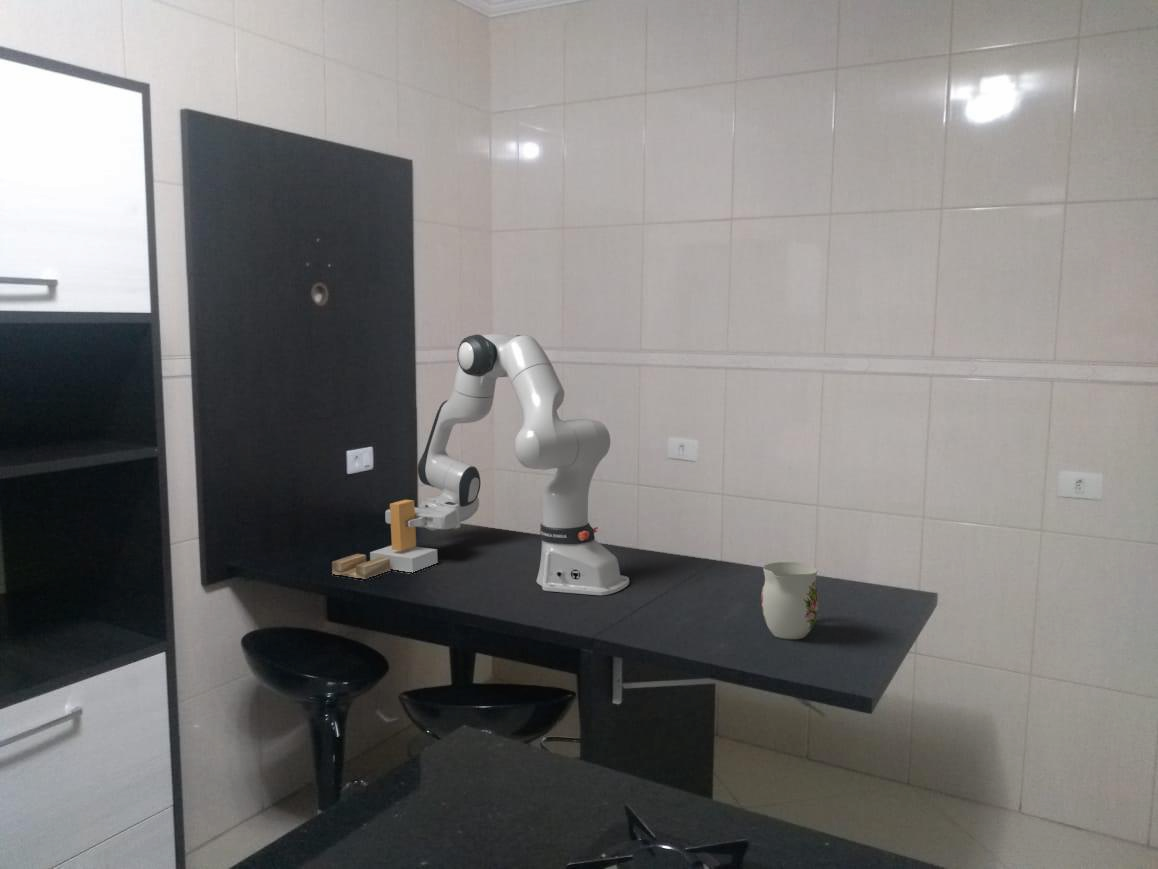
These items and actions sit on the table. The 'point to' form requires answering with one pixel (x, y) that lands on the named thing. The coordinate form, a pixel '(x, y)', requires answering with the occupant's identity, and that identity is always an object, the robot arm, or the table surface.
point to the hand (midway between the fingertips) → (400, 523)
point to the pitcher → (789, 599)
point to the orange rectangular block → (402, 525)
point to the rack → (360, 566)
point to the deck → (407, 558)
